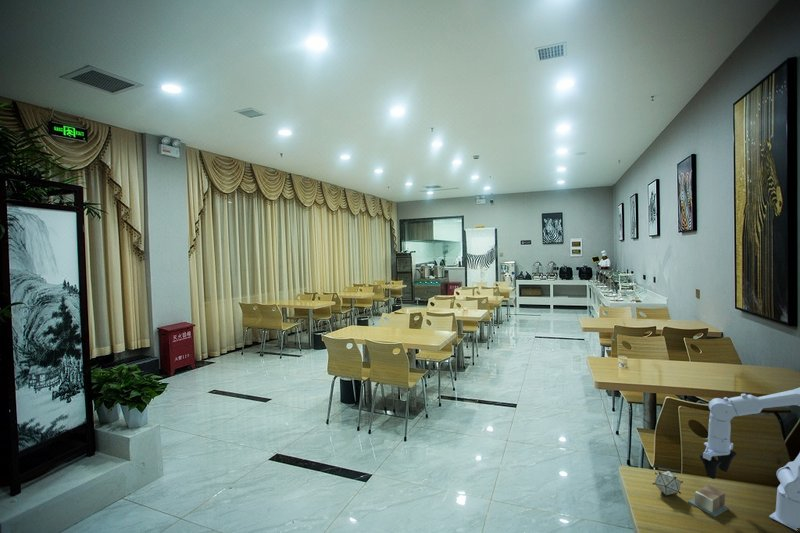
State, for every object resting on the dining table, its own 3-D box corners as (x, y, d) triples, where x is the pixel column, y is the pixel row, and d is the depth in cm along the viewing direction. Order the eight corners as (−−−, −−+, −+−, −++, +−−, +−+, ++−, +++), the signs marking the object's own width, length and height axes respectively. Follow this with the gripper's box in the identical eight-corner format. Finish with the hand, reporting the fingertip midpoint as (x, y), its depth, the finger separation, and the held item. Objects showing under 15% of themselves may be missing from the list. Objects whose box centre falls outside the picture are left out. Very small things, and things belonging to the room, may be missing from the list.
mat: (728, 509, 132) (728, 507, 132) (715, 517, 129) (715, 516, 129) (701, 494, 139) (701, 493, 139) (688, 502, 136) (688, 501, 136)
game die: (673, 506, 139) (692, 495, 133) (648, 495, 141) (665, 484, 134) (669, 481, 146) (686, 469, 140) (645, 471, 147) (661, 459, 141)
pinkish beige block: (725, 493, 134) (712, 500, 130) (724, 504, 134) (711, 512, 130) (708, 484, 138) (695, 491, 134) (707, 495, 138) (694, 503, 135)
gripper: (717, 425, 141) (715, 461, 142) (693, 435, 134) (691, 473, 135) (741, 433, 134) (739, 472, 136) (717, 445, 128) (715, 485, 129)
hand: (717, 473), depth 135 cm, fingers open, 7 cm apart
